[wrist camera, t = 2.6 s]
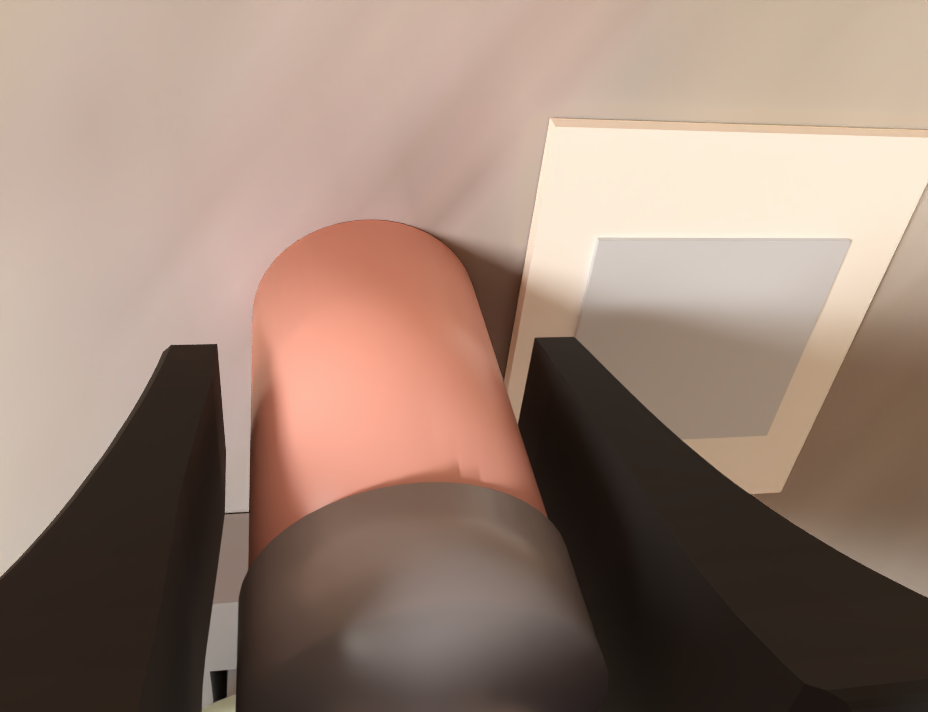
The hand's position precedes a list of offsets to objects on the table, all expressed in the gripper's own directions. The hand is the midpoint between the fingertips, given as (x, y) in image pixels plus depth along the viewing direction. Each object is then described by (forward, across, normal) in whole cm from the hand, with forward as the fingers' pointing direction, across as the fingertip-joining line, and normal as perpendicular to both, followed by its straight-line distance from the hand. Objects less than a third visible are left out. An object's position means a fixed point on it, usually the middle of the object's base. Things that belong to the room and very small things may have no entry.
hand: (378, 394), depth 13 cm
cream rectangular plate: (+2, -6, 0) cm, 6 cm away
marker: (+2, 0, 0) cm, 2 cm away
